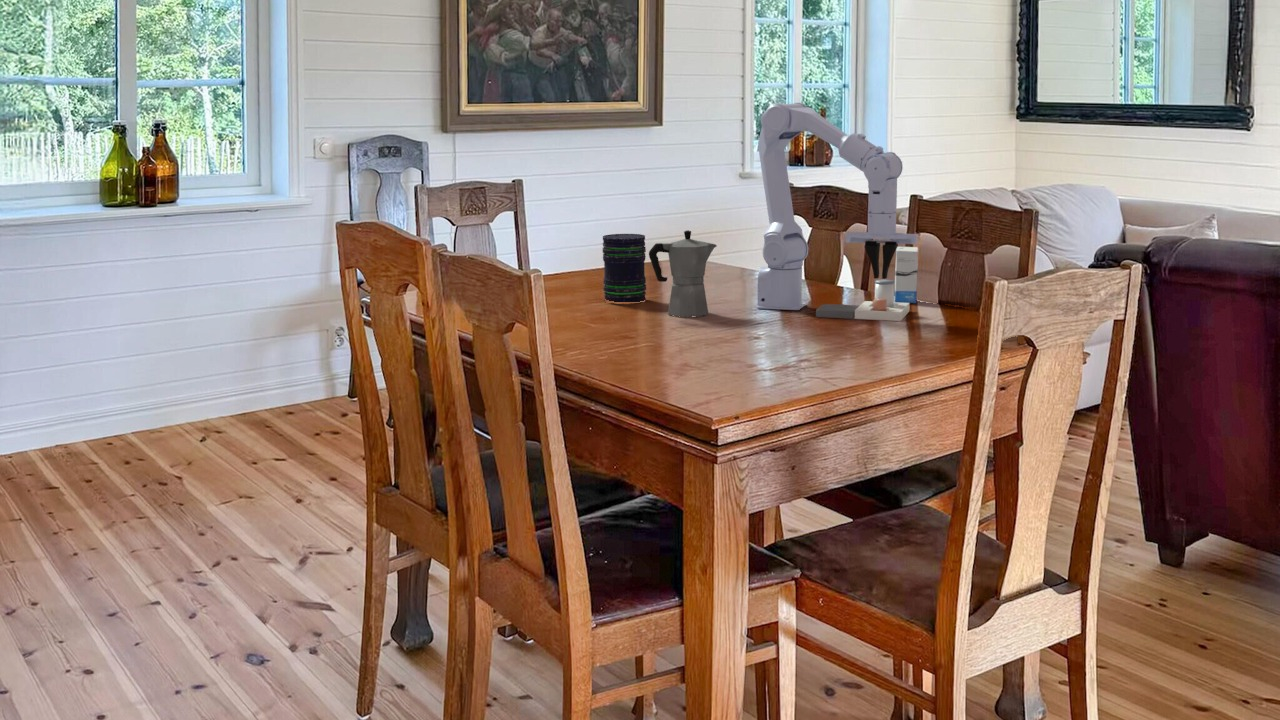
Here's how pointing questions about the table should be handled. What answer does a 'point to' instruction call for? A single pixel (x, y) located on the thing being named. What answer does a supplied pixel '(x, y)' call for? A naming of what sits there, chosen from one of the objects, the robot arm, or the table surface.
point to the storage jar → (624, 267)
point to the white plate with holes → (882, 312)
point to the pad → (836, 311)
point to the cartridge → (885, 291)
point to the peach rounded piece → (879, 305)
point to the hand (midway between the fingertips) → (880, 278)
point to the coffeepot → (685, 274)
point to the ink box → (906, 274)
